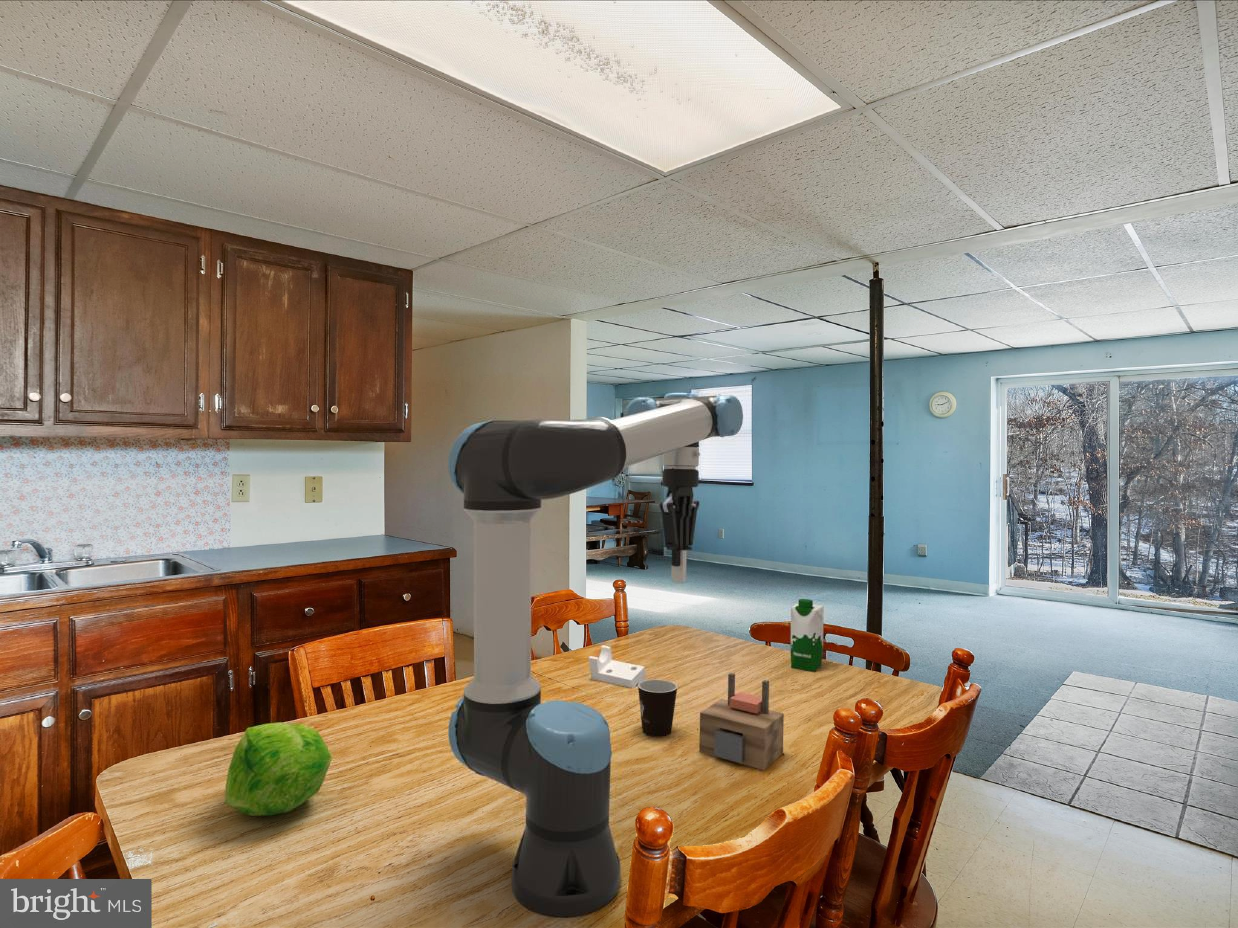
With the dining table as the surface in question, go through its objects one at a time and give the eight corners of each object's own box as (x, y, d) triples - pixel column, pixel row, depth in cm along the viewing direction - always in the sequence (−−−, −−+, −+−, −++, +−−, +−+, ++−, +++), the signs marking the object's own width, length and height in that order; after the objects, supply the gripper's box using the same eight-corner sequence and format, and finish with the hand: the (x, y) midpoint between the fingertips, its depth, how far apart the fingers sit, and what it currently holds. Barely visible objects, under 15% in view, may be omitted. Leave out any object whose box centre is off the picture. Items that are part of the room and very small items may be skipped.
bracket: (592, 682, 181) (588, 657, 179) (606, 669, 187) (602, 645, 185) (632, 692, 174) (629, 666, 173) (646, 678, 180) (643, 653, 178)
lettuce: (296, 773, 124) (319, 702, 124) (322, 838, 108) (349, 757, 108) (207, 775, 115) (233, 699, 115) (222, 846, 99) (252, 758, 99)
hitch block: (763, 770, 128) (765, 695, 128) (699, 751, 136) (700, 680, 136) (783, 752, 136) (784, 681, 136) (720, 735, 144) (722, 668, 144)
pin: (741, 763, 129) (742, 738, 129) (714, 754, 132) (714, 730, 132) (771, 737, 142) (772, 715, 142) (745, 730, 145) (745, 708, 145)
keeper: (756, 713, 135) (756, 704, 135) (729, 706, 138) (729, 698, 138) (766, 706, 139) (766, 697, 139) (739, 700, 142) (739, 691, 142)
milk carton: (787, 668, 194) (788, 599, 194) (796, 660, 202) (797, 594, 202) (817, 673, 189) (818, 603, 189) (825, 665, 197) (826, 598, 197)
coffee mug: (673, 741, 141) (674, 693, 141) (634, 736, 143) (634, 690, 143) (680, 720, 152) (680, 677, 152) (642, 717, 154) (643, 673, 154)
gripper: (681, 468, 131) (678, 587, 130) (711, 468, 141) (709, 579, 141) (648, 467, 135) (646, 583, 135) (680, 468, 146) (678, 575, 145)
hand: (678, 581), depth 138 cm, fingers closed
